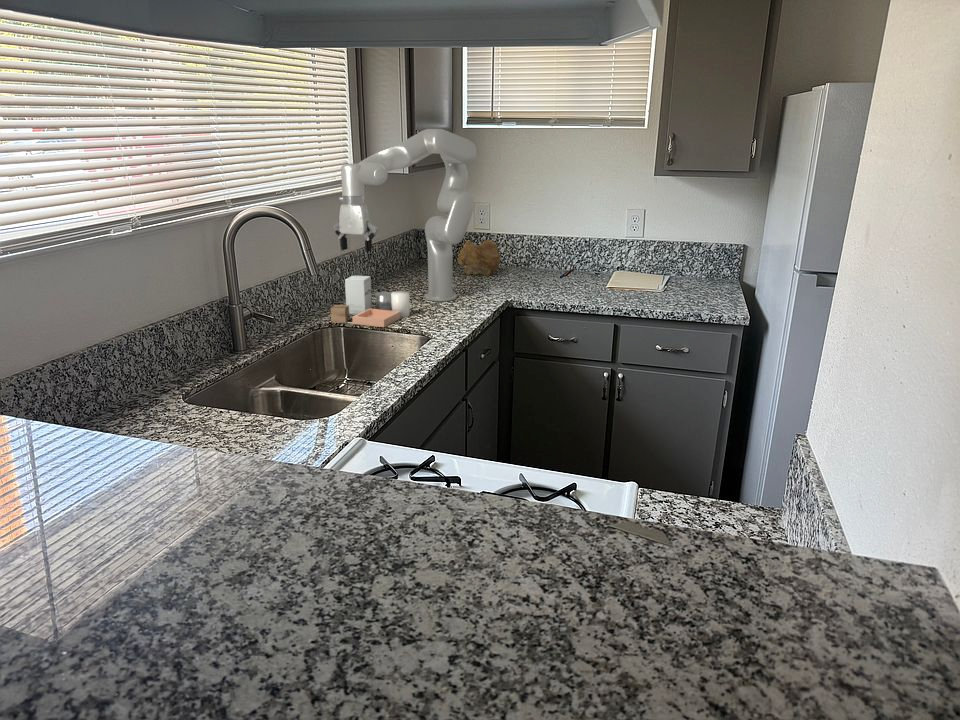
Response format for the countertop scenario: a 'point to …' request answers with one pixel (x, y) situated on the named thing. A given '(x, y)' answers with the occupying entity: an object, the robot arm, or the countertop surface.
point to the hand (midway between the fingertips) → (356, 250)
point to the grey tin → (383, 301)
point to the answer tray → (376, 317)
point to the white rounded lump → (401, 302)
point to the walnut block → (340, 313)
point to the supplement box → (358, 293)
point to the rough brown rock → (479, 258)
